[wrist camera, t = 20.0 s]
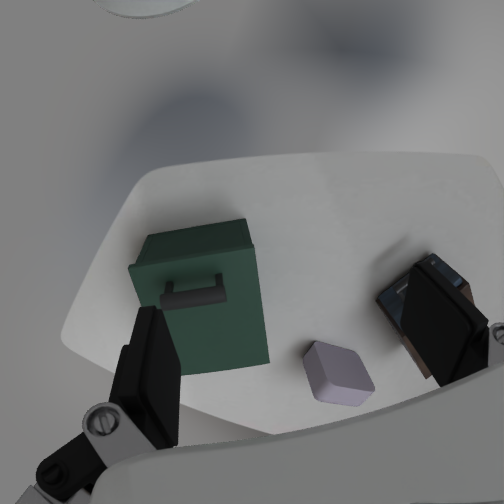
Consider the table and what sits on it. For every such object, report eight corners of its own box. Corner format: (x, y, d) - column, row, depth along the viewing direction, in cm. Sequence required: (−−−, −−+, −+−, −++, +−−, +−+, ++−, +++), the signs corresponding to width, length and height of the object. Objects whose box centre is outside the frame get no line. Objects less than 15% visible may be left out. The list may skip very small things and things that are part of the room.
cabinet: (375, 300, 48) (401, 338, 40) (434, 253, 46) (469, 283, 37) (403, 345, 54) (425, 379, 45) (453, 305, 52) (481, 334, 43)
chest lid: (129, 264, 31) (118, 290, 26) (253, 243, 31) (259, 268, 27) (172, 372, 38) (169, 400, 34) (269, 358, 39) (274, 386, 35)
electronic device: (297, 359, 52) (311, 404, 43) (312, 339, 50) (329, 384, 41) (342, 369, 54) (359, 410, 46) (357, 352, 53) (377, 392, 44)
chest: (148, 234, 39) (133, 267, 32) (245, 218, 40) (253, 247, 32) (177, 329, 46) (172, 372, 38) (260, 317, 47) (268, 358, 39)
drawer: (366, 279, 45) (389, 310, 38) (424, 233, 43) (454, 257, 36) (404, 340, 52) (423, 368, 45) (451, 302, 50) (474, 327, 43)
